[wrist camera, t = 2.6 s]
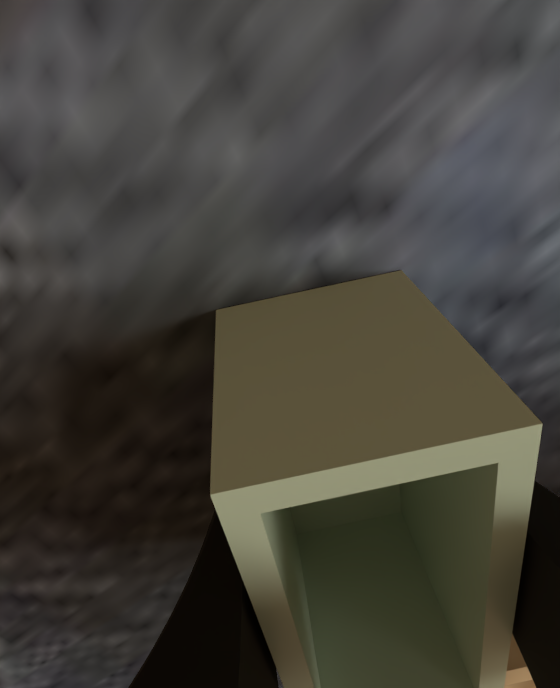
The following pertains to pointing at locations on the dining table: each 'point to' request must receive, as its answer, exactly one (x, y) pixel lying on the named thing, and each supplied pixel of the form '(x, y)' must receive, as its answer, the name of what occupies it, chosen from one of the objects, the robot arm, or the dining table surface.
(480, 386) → the small crate
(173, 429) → the dining table surface
